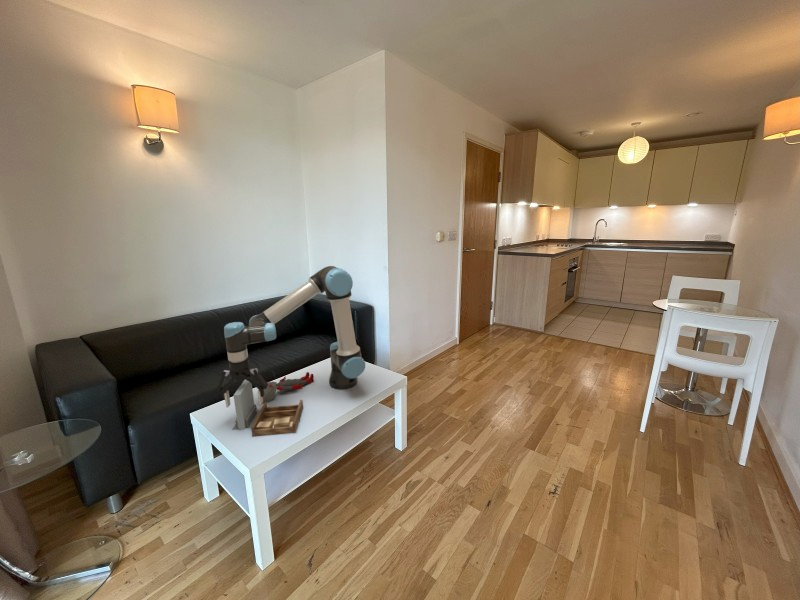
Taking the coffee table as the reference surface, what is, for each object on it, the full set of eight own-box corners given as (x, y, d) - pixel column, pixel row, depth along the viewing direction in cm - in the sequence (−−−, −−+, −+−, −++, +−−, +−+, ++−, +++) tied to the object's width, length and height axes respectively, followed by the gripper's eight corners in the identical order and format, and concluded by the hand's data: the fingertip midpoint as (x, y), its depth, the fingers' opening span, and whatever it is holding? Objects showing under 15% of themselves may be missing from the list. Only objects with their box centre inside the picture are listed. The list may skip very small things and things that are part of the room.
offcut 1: (272, 427, 137) (271, 421, 136) (269, 433, 134) (268, 426, 133) (260, 427, 137) (260, 421, 136) (257, 433, 134) (256, 426, 133)
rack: (303, 409, 152) (302, 399, 151) (295, 434, 134) (294, 424, 133) (265, 412, 150) (264, 402, 149) (252, 438, 132) (251, 427, 131)
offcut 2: (290, 421, 138) (289, 417, 137) (289, 426, 135) (289, 422, 134) (275, 423, 137) (274, 419, 136) (274, 428, 133) (273, 424, 133)
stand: (242, 414, 149) (241, 405, 148) (261, 412, 150) (259, 403, 149) (232, 431, 136) (230, 422, 135) (252, 429, 137) (250, 420, 136)
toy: (320, 376, 175) (268, 389, 151) (318, 393, 176) (267, 409, 152) (301, 369, 184) (250, 380, 160) (300, 385, 185) (249, 398, 161)
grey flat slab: (245, 429, 136) (240, 394, 133) (238, 429, 136) (233, 395, 132) (255, 410, 150) (251, 378, 146) (249, 410, 150) (244, 379, 146)
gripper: (271, 353, 141) (276, 397, 146) (210, 357, 138) (218, 402, 143) (267, 360, 134) (272, 406, 139) (202, 364, 131) (210, 411, 136)
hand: (244, 404), depth 141 cm, fingers open, 13 cm apart
